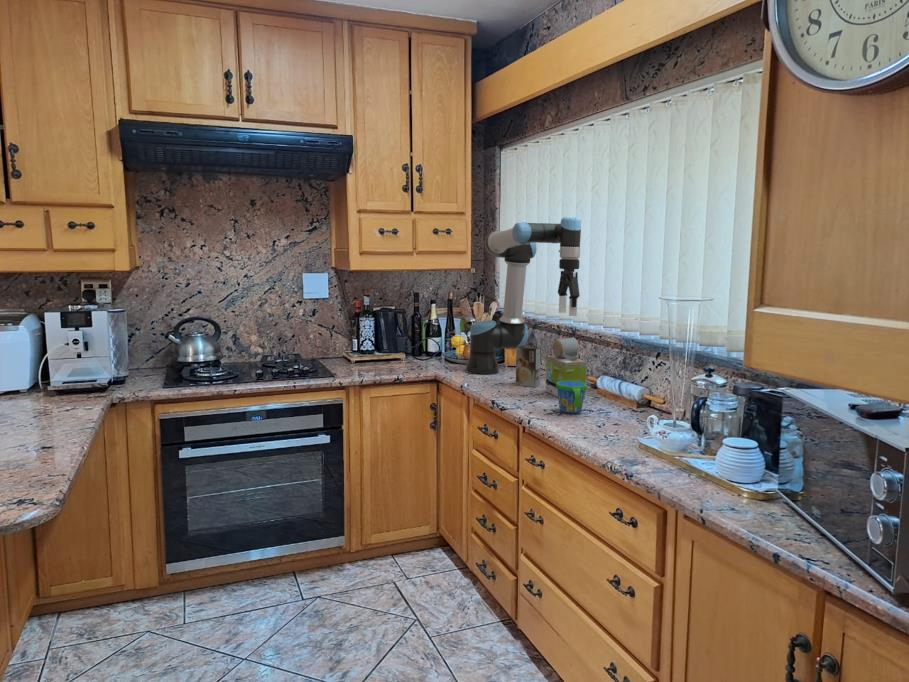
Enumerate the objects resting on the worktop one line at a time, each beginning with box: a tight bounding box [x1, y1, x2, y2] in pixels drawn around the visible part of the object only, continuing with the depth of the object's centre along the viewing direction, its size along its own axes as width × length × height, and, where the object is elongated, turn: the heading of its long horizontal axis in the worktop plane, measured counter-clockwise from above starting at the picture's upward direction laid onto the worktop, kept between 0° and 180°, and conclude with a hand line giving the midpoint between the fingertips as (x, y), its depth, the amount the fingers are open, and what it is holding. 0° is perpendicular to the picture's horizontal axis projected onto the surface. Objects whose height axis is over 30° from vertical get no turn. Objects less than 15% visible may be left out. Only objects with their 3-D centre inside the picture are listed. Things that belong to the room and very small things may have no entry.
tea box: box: [545, 355, 587, 399], centre depth 259 cm, size 15×10×15 cm
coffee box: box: [515, 345, 542, 388], centre depth 278 cm, size 9×6×16 cm
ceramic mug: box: [552, 337, 580, 360], centre depth 257 cm, size 11×8×8 cm
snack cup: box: [556, 381, 588, 415], centre depth 232 cm, size 16×10×10 cm
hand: (567, 314), depth 256 cm, fingers open, 13 cm apart
